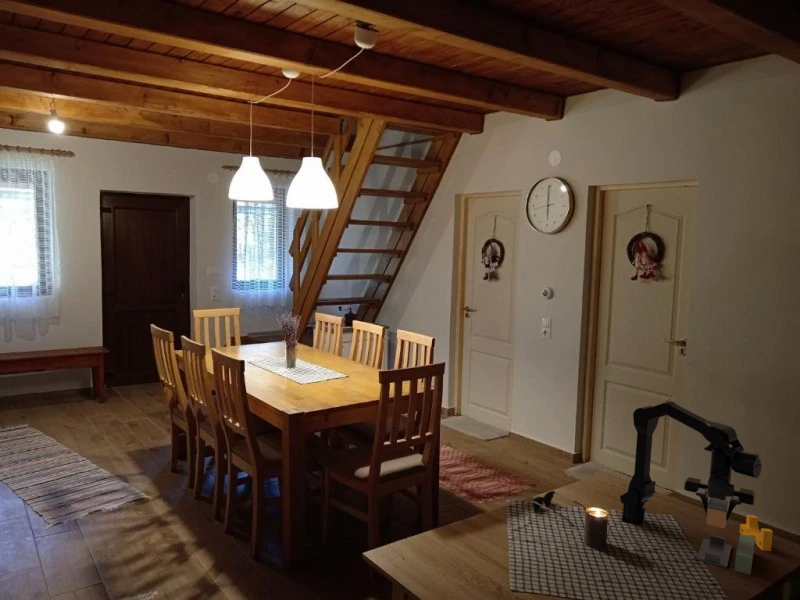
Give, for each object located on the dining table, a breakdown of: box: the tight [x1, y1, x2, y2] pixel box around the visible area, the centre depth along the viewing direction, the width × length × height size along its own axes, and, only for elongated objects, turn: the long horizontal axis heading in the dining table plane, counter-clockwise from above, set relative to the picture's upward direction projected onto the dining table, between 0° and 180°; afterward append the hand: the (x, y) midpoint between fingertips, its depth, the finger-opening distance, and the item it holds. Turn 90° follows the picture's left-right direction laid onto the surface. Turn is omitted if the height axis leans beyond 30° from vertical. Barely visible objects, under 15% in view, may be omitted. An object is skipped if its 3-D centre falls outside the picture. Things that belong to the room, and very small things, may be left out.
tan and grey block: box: [705, 497, 729, 529], centre depth 187 cm, size 5×9×6 cm, turn 148°
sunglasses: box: [531, 490, 587, 528], centre depth 212 cm, size 14×16×5 cm
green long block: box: [734, 533, 756, 576], centre depth 184 cm, size 4×16×5 cm, turn 147°
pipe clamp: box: [739, 514, 774, 552], centre depth 198 cm, size 12×4×6 cm, turn 174°
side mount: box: [696, 534, 733, 569], centre depth 188 cm, size 8×16×3 cm, turn 147°
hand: (717, 517), depth 188 cm, fingers closed on tan and grey block, 5 cm apart
